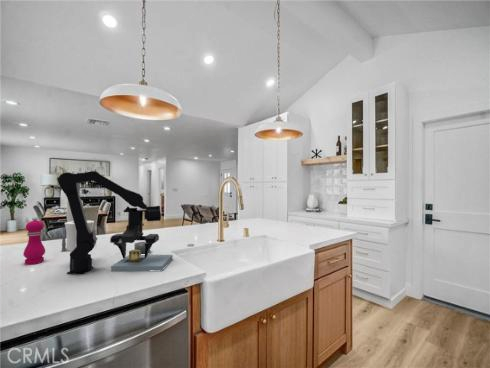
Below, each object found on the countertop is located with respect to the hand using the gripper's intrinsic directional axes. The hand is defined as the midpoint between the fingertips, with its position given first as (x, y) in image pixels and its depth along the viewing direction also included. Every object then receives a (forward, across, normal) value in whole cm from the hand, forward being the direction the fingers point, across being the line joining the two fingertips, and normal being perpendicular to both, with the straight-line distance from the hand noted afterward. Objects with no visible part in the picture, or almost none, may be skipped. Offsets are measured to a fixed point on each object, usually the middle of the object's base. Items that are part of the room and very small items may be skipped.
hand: (134, 258), depth 104 cm
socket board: (+3, +4, 0) cm, 5 cm away
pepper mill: (+3, -45, +3) cm, 45 cm away
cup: (+3, -25, +2) cm, 25 cm away
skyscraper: (+3, -43, +25) cm, 50 cm away
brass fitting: (+3, 0, 0) cm, 3 cm away
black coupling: (+3, -4, +18) cm, 19 cm away
